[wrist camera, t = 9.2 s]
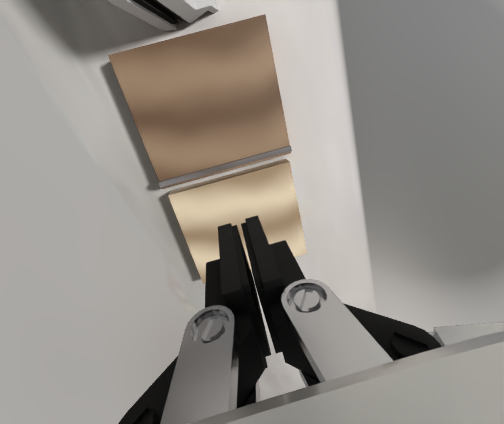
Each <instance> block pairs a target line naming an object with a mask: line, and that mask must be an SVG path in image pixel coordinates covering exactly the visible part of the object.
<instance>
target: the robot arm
mask: <svg viewBox="0 0 504 424" xmlns="http://www.w3.org/2000/svg"><path fill="white" fill-rule="evenodd" d="M245 221H246V222H245V223H241V227H242V231H243V235H244V239H245V243H246V248H247V252H248V256H249V260H250V264H251V269H252V273H253V276H252V273H251V270H250V267H249V263H248V260H247V257H246V253H245V250H244V247H243V243H242V240H241V237H240V233H239V230H238V227H237V225H234V226H232V225H231V223H229V224H225V225H222V226H218V240H219V256H220V259H217V260H213V261H210V262H207V263H206V286H205V308H204V309H203V310H201V311H199V312H198V313H197V314H195V315H194V316H193V317H192V318H191V320H190V321H189V322H188V324H187V327H186V329H185V332H184V336H183V340H182V344H181V347H180V351H179V355H178V356H177V357H176V359H175V360H174V361H173V362H172V363H171V364H170V365H169V366H168V367H167V369H166V370H165V371H164V372H163V373H162V374H161V375H160V376H159V377H158V378H157V380H156V381H155V382H154V383H153V384H152V385H151V386H150V387H149V388H148V390H147V391H146V392H145V393H144V394H143V395H142V396H141V397H140V398H139V399H138V401H137V402H136V403H135V404H134V405H133V406H132V407H131V408H130V409H129V410H128V412H127V413H126V414H125V416H124V417H123V418H122V419H121V421H120V422H119V424H504V322H497V323H484V324H470V325H457V326H444V327H434V332H426V331H425V330H423V329H420V328H418V327H416V326H413V325H410V324H407V323H404V322H401V321H397V320H394V319H391V318H388V317H385V316H381V315H378V314H375V313H372V312H369V311H365V310H362V309H359V308H356V307H353V306H349V305H346V304H343V303H342V302H341V301H340V299H339V298H338V297H337V296H336V295H335V294H334V293H333V291H332V290H331V289H330V288H329V287H328V286H327V285H325V284H324V283H323V282H320V281H318V280H313V279H305V277H304V275H303V273H302V271H301V269H300V267H299V265H298V263H297V261H296V259H295V257H294V255H293V253H292V251H291V250H290V248H289V246H288V244H287V242H286V240H283V241H280V242H276V243H273V244H269V243H268V240H267V238H266V235H265V233H264V230H263V227H262V225H261V222H260V220H259V217H258V215H257V216H253V217H250V218H246V219H245ZM253 277H254V280H253ZM254 281H255V284H254ZM255 285H256V288H257V292H258V295H259V299H260V302H261V305H262V309H263V312H264V315H265V319H266V322H267V325H268V328H269V332H270V335H271V338H272V342H273V345H274V348H275V352H276V353H279V352H283V356H284V359H285V362H286V363H288V364H290V365H292V366H293V367H295V368H297V369H299V372H300V375H301V378H302V380H303V382H304V384H305V386H306V388H302V389H299V390H296V391H293V392H289V393H286V394H283V395H279V396H276V397H273V398H270V399H266V400H263V401H260V386H259V381H258V379H259V378H260V376H261V375H262V373H263V371H264V370H265V368H267V362H266V358H265V357H266V356H269V355H271V352H270V348H269V344H268V339H267V335H266V331H265V326H264V322H263V318H262V314H261V309H260V305H259V301H258V297H257V292H256V288H255Z"/></svg>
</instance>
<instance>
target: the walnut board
mask: <svg viewBox="0 0 504 424" xmlns="http://www.w3.org/2000/svg"><path fill="white" fill-rule="evenodd" d="M108 57H109V59H110V61H111V64H112V66H113V69H114V71H115V74H116V76H117V79H118V81H119V84H120V86H121V89H122V91H123V94H124V96H125V99H126V101H127V104H128V106H129V108H130V111H131V113H132V116H133V118H134V121H135V123H136V126H137V128H138V131H139V133H140V136H141V138H142V141H143V143H144V146H145V148H146V151H147V153H148V156H149V158H150V160H151V163H152V165H153V168H154V170H155V173H156V175H157V178H158V180H159V182H158V183H159V186H160V188H162V189H163V188H167V187H171V186H174V185H178V184H181V183H185V182H189V181H192V180H196V179H199V178H203V177H207V176H210V175H214V174H217V173H221V172H225V171H228V170H232V169H235V168H239V167H243V166H246V165H250V164H253V163H257V162H261V161H264V160H268V159H271V158H275V157H279V156H282V155H286V154H289V153H291V151H292V150H291V146H290V145H289V139H288V134H287V129H286V123H285V118H284V112H283V107H282V102H281V96H280V91H279V86H278V80H277V75H276V69H275V64H274V59H273V53H272V48H271V43H270V37H269V32H268V26H267V21H266V16H265V15H261V16H257V17H253V18H250V19H246V20H242V21H238V22H234V23H230V24H227V25H223V26H219V27H215V28H211V29H207V30H203V31H200V32H196V33H192V34H188V35H184V36H180V37H177V38H173V39H169V40H165V41H161V42H157V43H154V44H150V45H146V46H142V47H138V48H134V49H130V50H127V51H123V52H119V53H115V54H111V55H108Z"/></svg>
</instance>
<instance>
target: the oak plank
mask: <svg viewBox="0 0 504 424" xmlns="http://www.w3.org/2000/svg"><path fill="white" fill-rule="evenodd" d="M168 197H169V199H170V202H171V204H172V207H173V209H174V212H175V214H176V217H177V219H178V222H179V224H180V227H181V229H182V232H183V234H184V237H185V239H186V242H187V244H188V247H189V249H190V252H191V254H192V257H193V259H194V262H195V264H196V267H197V269H198V272H199V275H200V277H201V280H202V282H203V284H204V283H206V263H207V262H210V261H213V260H217V259H220V256H219V240H218V226H222V225H225V224H229V223H231V225H232V226H234V225H237V227H238V230H239V233H240V237H241V240H242V243H243V247H244V250H245V253H246V257H247V260H248V263H249V267H250V270H252V269H251V264H250V260H249V256H248V252H247V248H246V243H245V239H244V235H243V231H242V227H241V223H245V222H246V221H245V219H246V218H250V217H253V216H257V215H258V217H259V220H260V222H261V225H262V227H263V230H264V233H265V235H266V238H267V240H268V243H269V244H273V243H276V242H280V241H283V240H286V242H287V244H288V246H289V248H290V250H291V251H292V253H293V255H294V257H296V256H300V255H303V254H307V250H306V245H305V240H304V235H303V229H302V224H301V219H300V214H299V208H298V203H297V198H296V193H295V187H294V182H293V177H292V172H291V166H290V162H289V161H288V160H287V159H284V160H280V161H276V162H273V163H269V164H266V165H262V166H258V167H255V168H251V169H248V170H244V171H240V172H237V173H233V174H230V175H226V176H223V177H219V178H215V179H212V180H208V181H205V182H201V183H197V184H194V185H190V186H187V187H183V188H179V189H176V190H172V191H170V193H169V195H168Z"/></svg>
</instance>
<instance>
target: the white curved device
mask: <svg viewBox="0 0 504 424" xmlns="http://www.w3.org/2000/svg"><path fill="white" fill-rule="evenodd" d="M108 1H109V2H110V3H111V4H113V5H115V6H116V7H118V8H120V9H122V10H124V11H126V12H128V13H130V14H131V15H133V16H135V17H137V18H139V19H141V20H143V21H145V22H147V23H148V24H150V25H152V26H154V27H156V28H158V29H160V30H162V31H171V30H176V26H175V24H177V23H178V22H177V19H176V17H178V18H179V19H181V20H182V21H183V20H186V21H187V22H189V23H192V22H193V21H194V20H196V19H197V18H198V17H200V16H201V15H202V14H204V13H205V12H206V11H210V12H211V13H213V14H214V13H215V12H217V11H219V10H218V6H217V3H216V0H108Z"/></svg>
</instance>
